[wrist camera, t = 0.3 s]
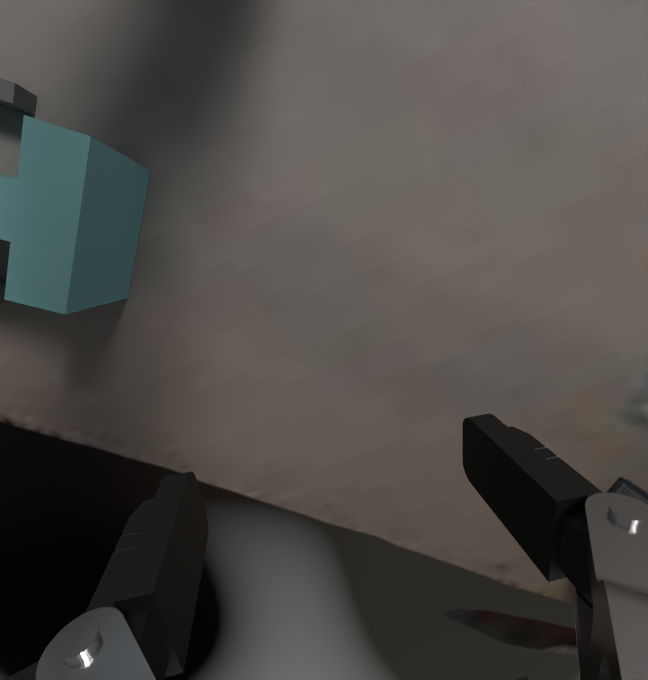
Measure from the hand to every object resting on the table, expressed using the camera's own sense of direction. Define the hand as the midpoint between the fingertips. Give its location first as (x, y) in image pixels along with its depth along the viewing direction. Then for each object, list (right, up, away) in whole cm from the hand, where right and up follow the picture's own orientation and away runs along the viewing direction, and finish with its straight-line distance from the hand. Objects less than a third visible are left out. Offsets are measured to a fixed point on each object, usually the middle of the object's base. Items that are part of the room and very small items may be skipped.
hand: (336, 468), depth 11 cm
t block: (-25, +16, +22) cm, 37 cm away
